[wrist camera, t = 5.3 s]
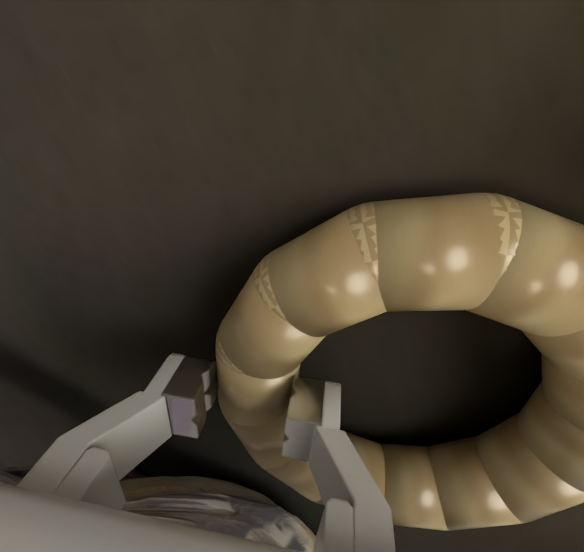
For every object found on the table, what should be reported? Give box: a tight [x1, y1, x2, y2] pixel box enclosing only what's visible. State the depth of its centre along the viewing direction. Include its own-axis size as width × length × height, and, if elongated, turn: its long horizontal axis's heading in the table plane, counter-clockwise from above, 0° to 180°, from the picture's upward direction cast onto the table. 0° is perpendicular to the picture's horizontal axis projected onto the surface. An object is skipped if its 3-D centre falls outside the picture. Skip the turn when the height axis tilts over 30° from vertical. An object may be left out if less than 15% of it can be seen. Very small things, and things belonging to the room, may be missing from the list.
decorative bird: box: [0, 466, 316, 552], centre depth 15 cm, size 6×25×5 cm, turn 56°
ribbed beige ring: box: [215, 193, 584, 531], centre depth 10 cm, size 13×14×3 cm
